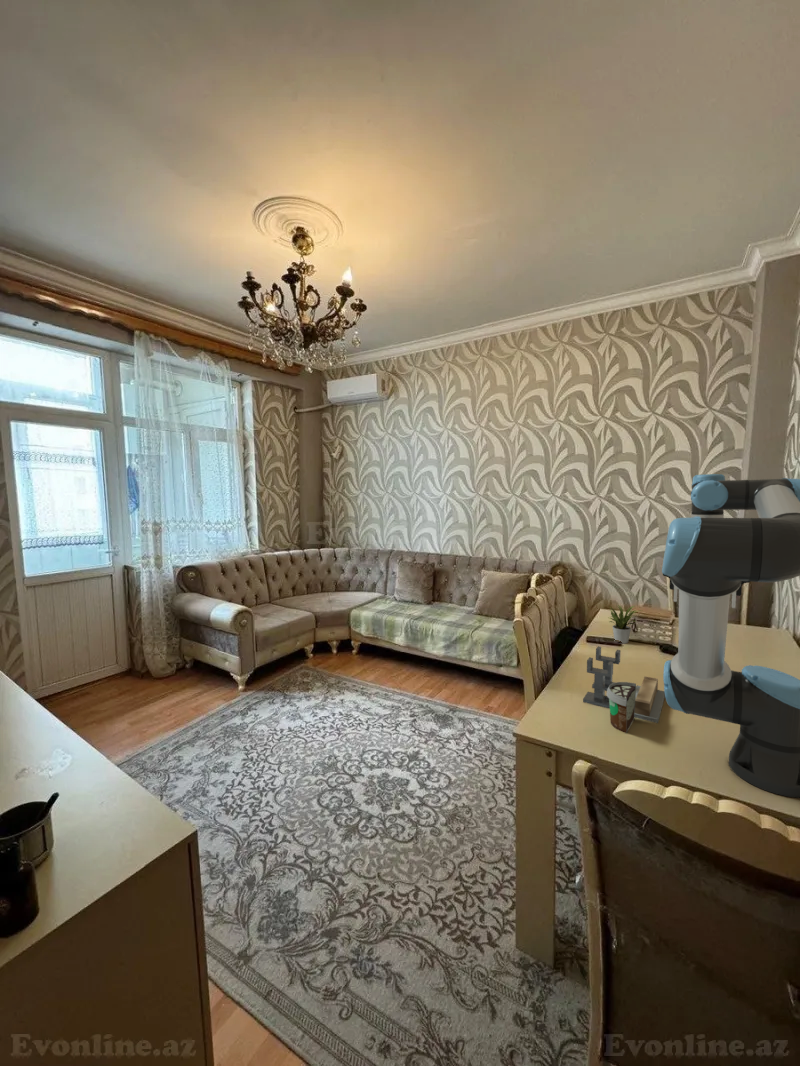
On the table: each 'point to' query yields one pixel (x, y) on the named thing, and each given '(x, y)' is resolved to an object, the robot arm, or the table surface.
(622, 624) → the house plant
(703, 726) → the table surface
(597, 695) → the post near
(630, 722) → the food container
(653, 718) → the mat
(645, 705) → the rail
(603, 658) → the post far
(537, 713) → the table surface
